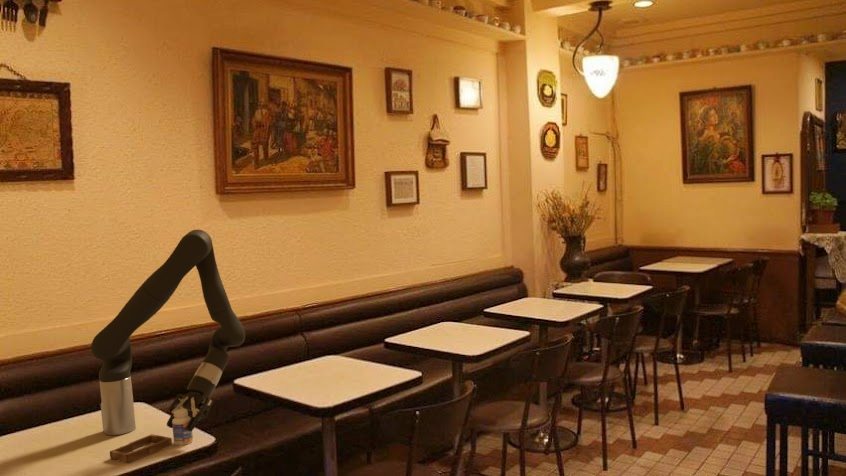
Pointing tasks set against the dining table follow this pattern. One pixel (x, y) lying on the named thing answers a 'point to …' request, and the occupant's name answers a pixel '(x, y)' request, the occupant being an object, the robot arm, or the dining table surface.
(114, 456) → the brown wooden rectangular frame
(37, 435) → the dining table surface
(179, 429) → the pill bottle
